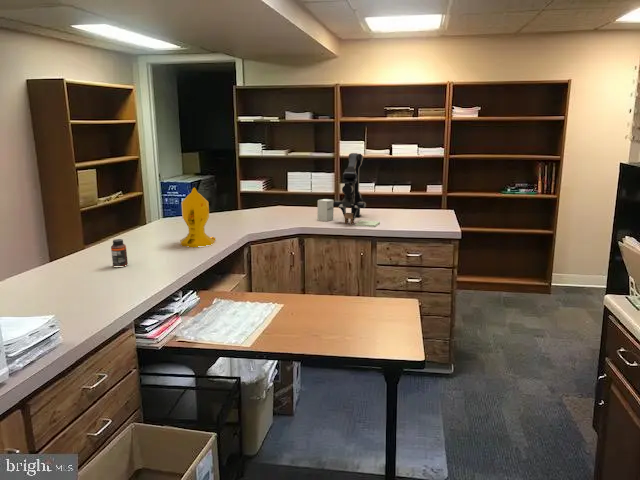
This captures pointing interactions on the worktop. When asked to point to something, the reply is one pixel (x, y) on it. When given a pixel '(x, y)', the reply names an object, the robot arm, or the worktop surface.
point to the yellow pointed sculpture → (196, 220)
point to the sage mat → (367, 223)
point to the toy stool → (349, 218)
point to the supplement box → (325, 210)
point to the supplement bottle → (119, 253)
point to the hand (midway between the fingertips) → (349, 218)
